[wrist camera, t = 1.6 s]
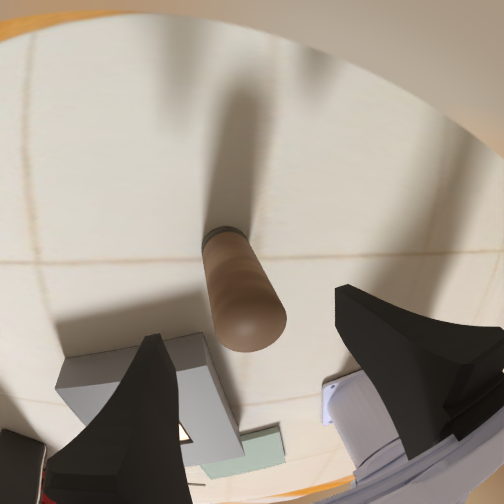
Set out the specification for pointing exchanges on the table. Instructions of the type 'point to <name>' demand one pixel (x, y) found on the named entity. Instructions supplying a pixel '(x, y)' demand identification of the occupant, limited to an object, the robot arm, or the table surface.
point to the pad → (251, 455)
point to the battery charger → (20, 469)
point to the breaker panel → (190, 396)
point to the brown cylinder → (240, 293)
